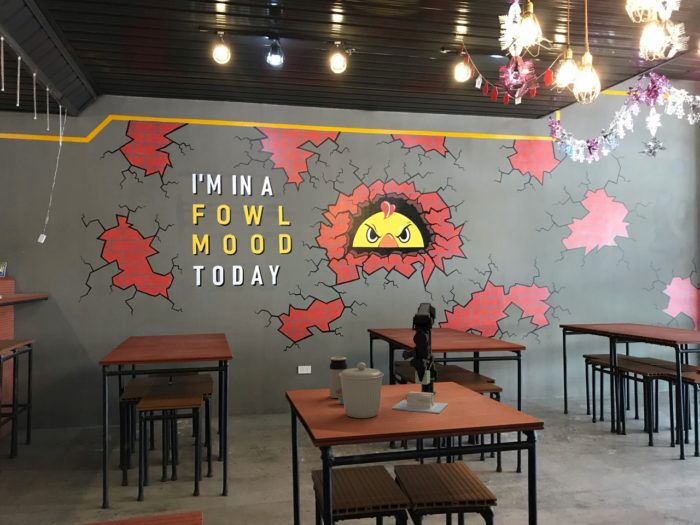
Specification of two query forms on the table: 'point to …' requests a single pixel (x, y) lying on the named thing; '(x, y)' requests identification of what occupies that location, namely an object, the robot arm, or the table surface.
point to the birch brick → (420, 399)
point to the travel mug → (336, 374)
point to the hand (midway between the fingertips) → (422, 380)
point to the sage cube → (425, 379)
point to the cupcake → (340, 395)
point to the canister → (361, 391)
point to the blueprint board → (434, 409)
